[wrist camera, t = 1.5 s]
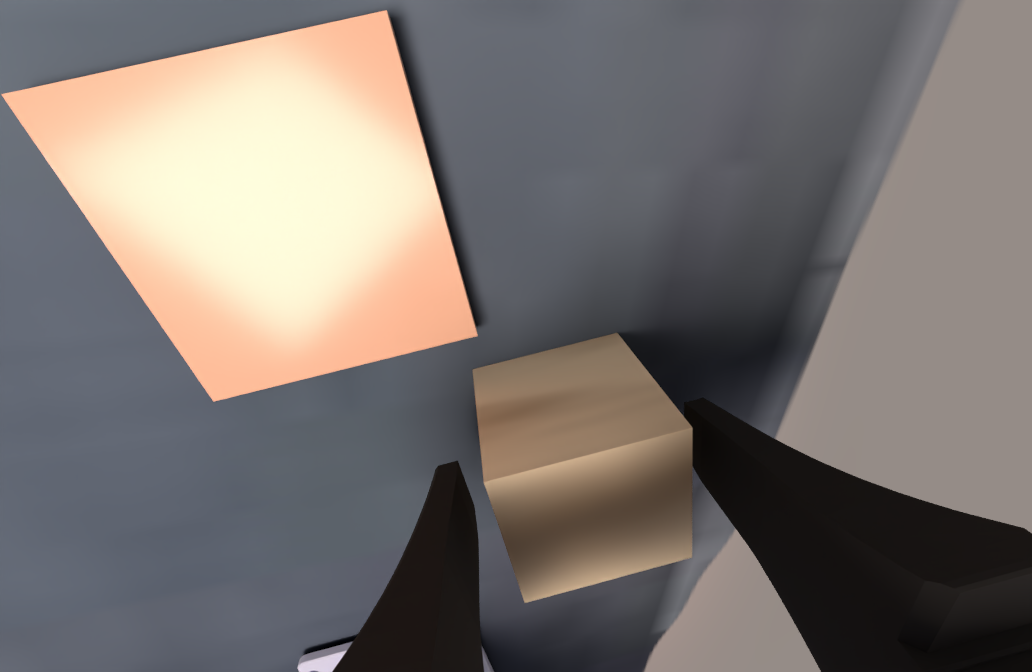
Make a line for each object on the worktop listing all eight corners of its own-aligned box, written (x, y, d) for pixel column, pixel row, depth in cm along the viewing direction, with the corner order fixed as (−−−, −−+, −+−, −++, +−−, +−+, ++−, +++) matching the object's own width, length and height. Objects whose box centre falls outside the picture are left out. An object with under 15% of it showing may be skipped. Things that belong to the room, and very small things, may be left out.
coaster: (476, 327, 13) (477, 335, 13) (222, 390, 13) (213, 401, 12) (389, 16, 9) (386, 10, 9) (27, 95, 9) (1, 94, 9)
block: (626, 440, 17) (692, 557, 12) (503, 473, 16) (525, 602, 12) (616, 331, 14) (692, 427, 10) (472, 368, 14) (483, 482, 10)
